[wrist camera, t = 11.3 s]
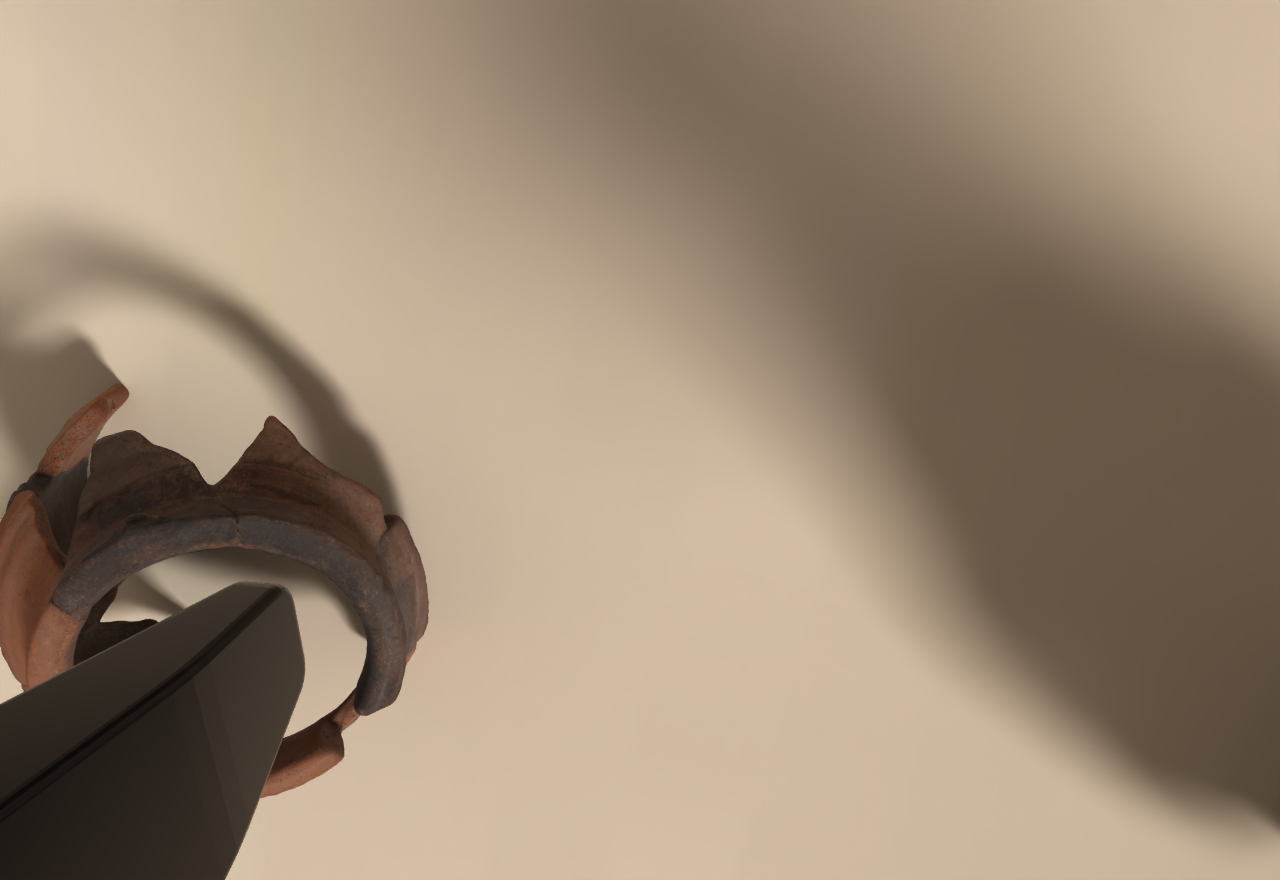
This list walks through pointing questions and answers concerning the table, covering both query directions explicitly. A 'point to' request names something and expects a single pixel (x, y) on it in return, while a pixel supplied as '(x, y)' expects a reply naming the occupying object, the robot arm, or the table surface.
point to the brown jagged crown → (191, 521)
